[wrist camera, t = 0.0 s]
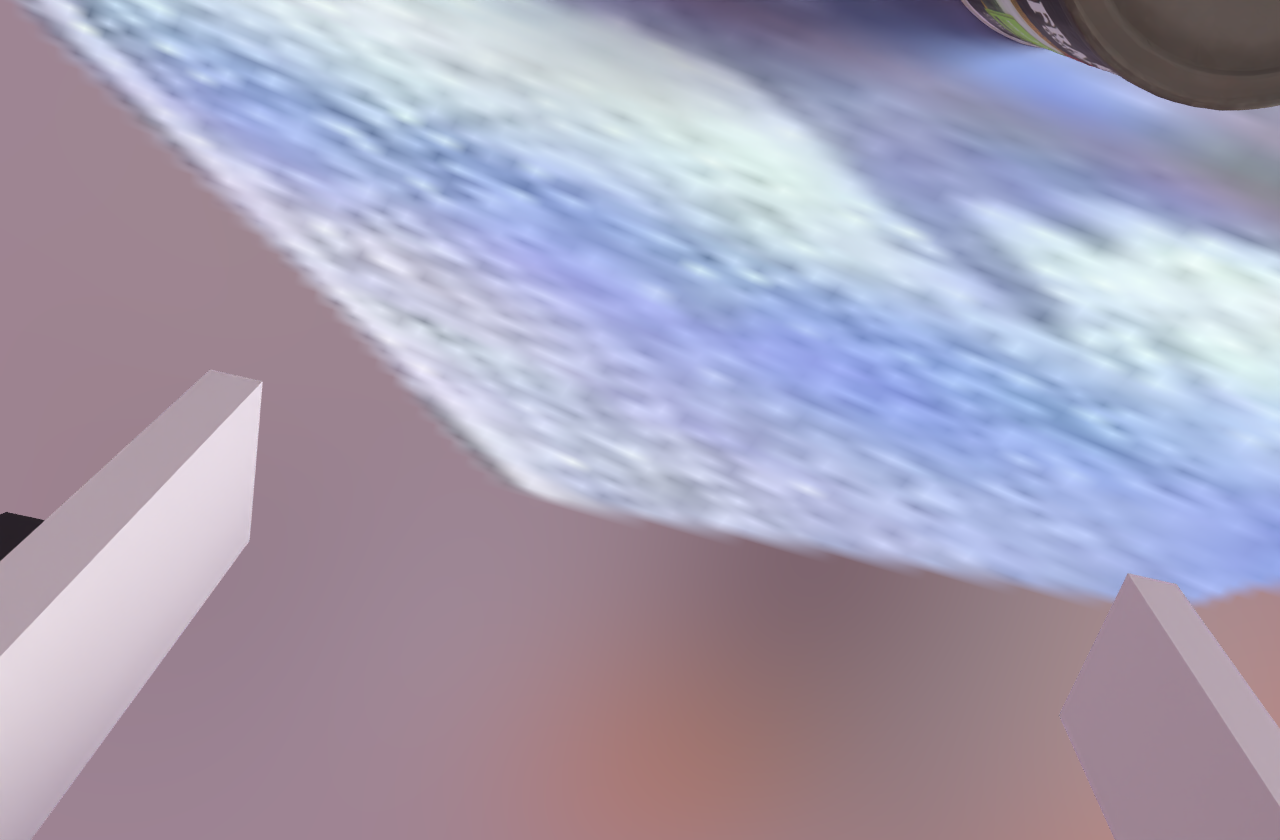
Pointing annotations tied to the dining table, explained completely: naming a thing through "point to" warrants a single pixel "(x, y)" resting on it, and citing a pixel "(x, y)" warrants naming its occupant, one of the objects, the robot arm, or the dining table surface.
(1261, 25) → the coffee can
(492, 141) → the dining table surface
